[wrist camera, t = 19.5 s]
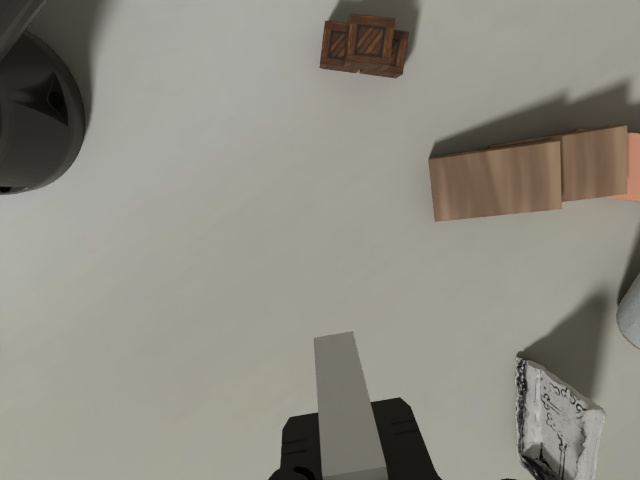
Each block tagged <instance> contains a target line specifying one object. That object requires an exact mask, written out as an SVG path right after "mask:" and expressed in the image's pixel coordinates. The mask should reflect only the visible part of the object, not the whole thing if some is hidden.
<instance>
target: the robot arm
mask: <svg viewBox="0 0 640 480" xmlns="http://www.w3.org/2000/svg"><path fill="white" fill-rule="evenodd" d="M47 1H48V0H0V195H10V194H17V193H22V192H26V191H31V190H35V189H38V188H41V187H44V186H46V185H48V184H50V183H52V182H53V181H55V180H56V179H58V178H59V177H60V176H62V175H63V174H64V173H65V172H66V171H67V170H68V168H69V167H70V166H71V165H72V163H73V162H74V160H75V158H76V157H77V155H78V153H79V150H80V147H81V144H82V141H83V136H84V129H85V115H84V107H83V102H82V98H81V95H80V92H79V89H78V86H77V84H76V82H75V80H74V78H73V76H72V74H71V72H70V71H69V69H68V68H67V66H66V65H65V63H64V62H63V61H62V60H61V58H60V57H59V56H58V55H57V54H56V53H55V52H54V51H53V50H52V49H51V48H50V47H49V46H48V45H47V44H46V43H44V42H43V41H42V40H40V39H39V38H38V37H36V36H34V35H33V34H31V33H30V32H28V31H26V30H25V29H26V28H27V27H28V26H29V24H30V23H31V22H32V20H33V19H34V18H35V17H36V15H37V14H38V13H39V11H40V10H41V9H42V7H43V6H44V5H45V4H46V2H47ZM314 350H315V367H316V383H317V399H318V413H312V414H306V415H300V416H294V417H290V418H289V419H288V421H287V423H286V425H285V426H284V428H283V430H282V447H281V465H280V469H278V470H277V471H275V472H274V473H273V474H272V476H271V477H270V478H269V479H268V480H442V479H441V478H440V477H439V476H438V474H437V473H436V471H435V469H434V466H433V464H432V461H431V459H430V456H429V453H428V451H427V448H426V446H425V443H424V440H423V438H422V435H421V433H420V431H419V427H418V425H417V422H416V420H415V417H414V414H413V412H412V409H411V407H410V406H409V405H408V404H407V403H406V402H405V401H403V400H402V399H401V398H400V397H399V398H393V399H387V400H381V401H376V402H370V399H369V395H368V391H367V387H366V383H365V379H364V375H363V371H362V367H361V363H360V359H359V355H358V351H357V347H356V343H355V339H354V335H353V331H352V332H346V333H340V334H334V335H328V336H323V337H317V338H314ZM502 480H515V479H502Z"/></svg>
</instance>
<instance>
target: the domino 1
mask: <svg viewBox="0 0 640 480" xmlns="http://www.w3.org/2000/svg"><path fill="white" fill-rule="evenodd" d="M429 169H430V179H431V188H432V198H433V208H434V217H435V222H436V221H446V220H456V219H466V218H476V217H486V216H496V215H506V214H516V213H526V212H536V211H546V210H556V209H562V201H561V161H560V141H558V140H555V139H554V140H547V141H540V142H533V143H526V144H519V145H513V146H506V147H499V148H492V149H485V150H478V151H471V152H464V153H457V154H450V155H443V156H436V157H429Z"/></svg>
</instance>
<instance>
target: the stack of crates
mask: <svg viewBox="0 0 640 480" xmlns="http://www.w3.org/2000/svg"><path fill="white" fill-rule="evenodd" d="M394 25H395V18H386V17H376V16H367V15H357V14H351V15H350V18H349V20H348V23H340V22H333V21H325V26H324V34H323V43H322V51H321V60H320V68H322V69H329V70H336V71H344V72H351V73H357V72H358V71H359V70H360V73H361V74H368V75H376V76H383V77H391V78H397V77H399V76H401V75H402V74H403V68H404V61H405V55H406V49H407V43H408V36H409V32H406V31H399V30H394Z"/></svg>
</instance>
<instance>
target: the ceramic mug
mask: <svg viewBox="0 0 640 480" xmlns="http://www.w3.org/2000/svg"><path fill="white" fill-rule="evenodd" d="M616 320H617V325H618V328H619V330H620V332H621V333H622V335H623V336H624V337H625V338H626V339H627V340H628V341H629V342H630V343H631V344H632V345H633V346H635V347H636V348H638V349H640V273H639V274H638V276H637V277H636V279H635V280H634V282H633V283H632V285H631V287H630V288H629V290H628V292H627V293H626V294H625V296H624V297H623V298H622V300H621V302H620V304H619V306H618V310H617V314H616Z"/></svg>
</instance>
